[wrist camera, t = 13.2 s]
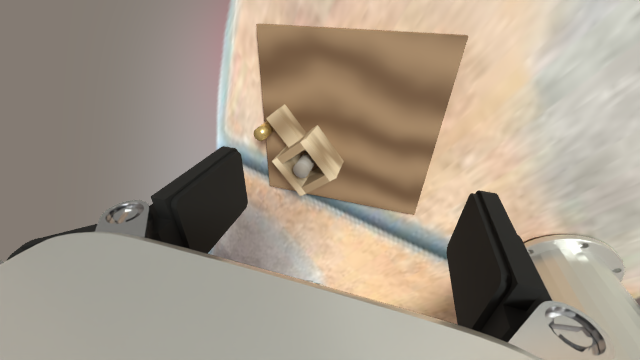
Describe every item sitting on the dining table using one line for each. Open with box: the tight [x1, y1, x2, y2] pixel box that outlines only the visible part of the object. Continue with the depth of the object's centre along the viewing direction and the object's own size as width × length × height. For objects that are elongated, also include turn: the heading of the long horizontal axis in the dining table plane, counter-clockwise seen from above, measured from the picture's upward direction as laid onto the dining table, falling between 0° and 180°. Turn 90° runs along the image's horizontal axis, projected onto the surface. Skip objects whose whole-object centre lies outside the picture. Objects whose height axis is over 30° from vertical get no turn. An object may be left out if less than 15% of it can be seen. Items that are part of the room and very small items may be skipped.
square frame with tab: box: [266, 104, 344, 196], centre depth 33 cm, size 10×6×4 cm, turn 38°
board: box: [256, 24, 468, 215], centre depth 31 cm, size 22×22×6 cm
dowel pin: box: [254, 121, 275, 141], centre depth 34 cm, size 2×2×4 cm
